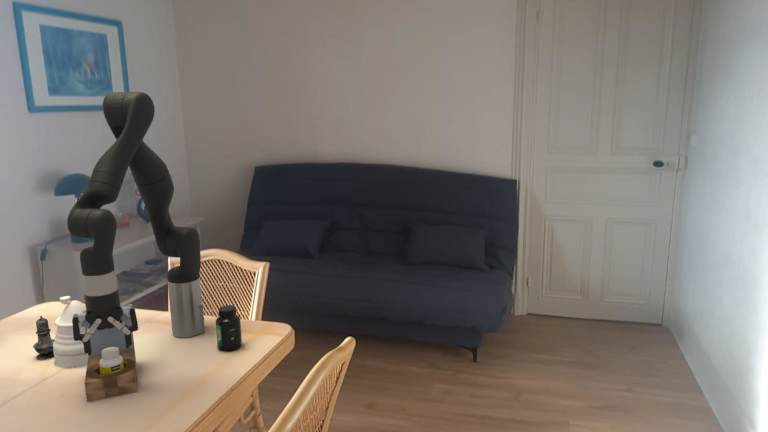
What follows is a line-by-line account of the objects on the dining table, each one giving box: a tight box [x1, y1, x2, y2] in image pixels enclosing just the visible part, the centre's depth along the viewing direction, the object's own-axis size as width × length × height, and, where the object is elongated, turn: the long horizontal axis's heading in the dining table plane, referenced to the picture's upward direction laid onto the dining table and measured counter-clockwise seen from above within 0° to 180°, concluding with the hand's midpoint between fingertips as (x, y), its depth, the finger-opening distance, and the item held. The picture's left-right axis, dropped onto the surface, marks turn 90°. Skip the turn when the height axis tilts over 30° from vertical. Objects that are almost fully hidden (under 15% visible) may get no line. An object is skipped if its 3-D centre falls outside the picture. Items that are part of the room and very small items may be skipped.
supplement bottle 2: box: [215, 304, 243, 353], centre depth 162 cm, size 7×7×12 cm
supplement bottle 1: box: [99, 347, 124, 375], centre depth 141 cm, size 5×5×10 cm
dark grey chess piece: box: [32, 315, 55, 361], centre depth 157 cm, size 6×6×12 cm
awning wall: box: [80, 303, 137, 360], centre depth 148 cm, size 12×5×17 cm, turn 114°
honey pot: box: [53, 295, 88, 369], centre depth 156 cm, size 13×13×18 cm
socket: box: [84, 349, 138, 403], centre depth 143 cm, size 11×15×5 cm
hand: (109, 350), depth 140 cm, fingers open, 8 cm apart
